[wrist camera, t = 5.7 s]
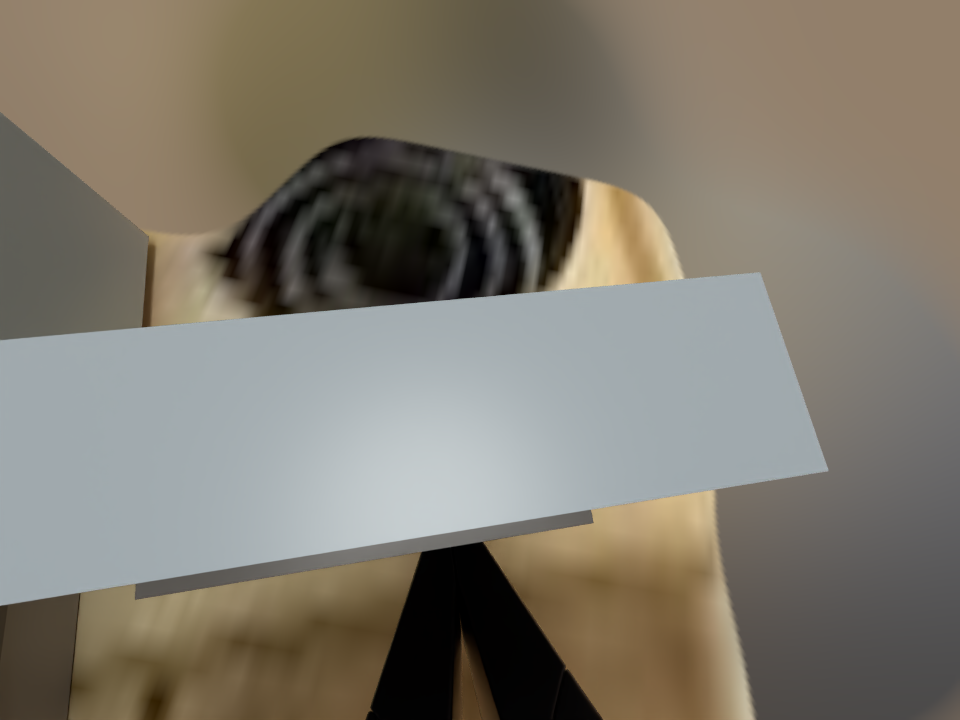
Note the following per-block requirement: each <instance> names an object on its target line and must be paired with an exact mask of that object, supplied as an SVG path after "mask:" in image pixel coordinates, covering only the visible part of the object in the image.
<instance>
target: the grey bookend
mask: <svg viewBox="0 0 960 720" xmlns="http://www.w3.org/2000/svg"><path fill="white" fill-rule="evenodd" d="M148 238H149V236H147V235H146V234H145V233H144V232H143V231H141V230H140V229H139V228H138V227H137V226H136V225H134V224H133V223H132V222H131V221H130V220H128V219H127V218H126V217H124V215H122V214H121V213H120V212H119V211H118V210H116V209H115V208H114V207H113V206H111V205H110V204H109V203H108V202H107V201H106V200H104V199H103V198H102V197H101V196H100V195H99V194H97V193H96V192H95V191H94V190H92V189H91V188H90V187H89V186H88V185H87V184H85V183H84V182H83V181H82V180H81V179H79V178H78V177H77V176H76V175H75V174H73V173H72V172H71V171H70V170H69V169H67V168H66V167H65V166H64V165H63V164H62V163H60V162H59V161H58V160H57V159H56V158H54V157H53V156H52V155H51V154H50V153H48V152H47V151H46V150H45V149H44V148H42V147H41V146H40V145H39V144H38V143H37V142H35V141H34V140H33V139H32V138H30V137H29V136H28V135H27V134H26V133H25V132H23V131H22V130H21V129H20V128H18V127H17V126H16V125H15V124H14V123H12V122H11V121H10V120H9V119H8V118H6V117H5V116H4V115H3V114H2V113H0V606H1V605H8V604H14V603H20V602H26V601H32V600H38V599H44V598H51V597H57V596H63V595H69V594H75V593H81V592H87V591H94V590H100V589H106V588H112V587H118V586H124V585H130V584H136V591H135V600H137V599H143V598H148V597H154V596H160V595H166V594H172V593H178V592H184V591H190V590H196V589H202V588H208V587H214V586H220V585H226V584H232V583H238V582H244V581H250V580H256V579H262V578H268V577H274V576H280V575H286V574H292V573H298V572H304V571H310V570H316V569H322V568H328V567H334V566H340V565H346V564H352V563H358V562H364V561H370V560H376V559H382V558H388V557H394V556H400V555H406V554H411V553H417V552H423V551H429V550H435V549H441V548H447V547H453V546H459V545H465V544H471V543H477V542H483V541H489V540H495V539H501V538H507V537H513V536H519V535H525V534H531V533H537V532H543V531H549V530H555V529H561V528H567V527H573V526H579V525H585V524H591V523H593V518H592V513H591V509H598V508H604V507H610V506H616V505H622V504H628V503H634V502H641V501H647V500H653V499H659V498H665V497H671V496H677V495H684V494H690V493H696V492H702V491H708V490H714V489H720V488H727V487H733V486H739V485H744V484H751V483H757V482H763V481H770V480H775V479H782V478H788V477H794V476H800V475H806V474H812V473H818V472H824V471H828V468H827V465H826V462H825V459H824V456H823V453H822V451H821V448H820V445H819V442H818V439H817V436H816V433H815V430H814V428H813V424H812V422H811V419H810V416H809V413H808V410H807V407H806V404H805V401H804V398H803V395H802V393H801V390H800V387H799V384H798V381H797V378H796V375H795V372H794V369H793V366H792V363H791V361H790V358H789V355H788V352H787V349H786V346H785V343H784V340H783V337H782V334H781V332H780V329H779V326H778V323H777V320H776V317H775V314H774V311H773V308H772V305H771V303H770V300H769V297H768V294H767V291H766V288H765V285H764V282H763V279H762V276H761V273H760V272H759V273H748V274H737V275H725V276H715V277H703V278H692V279H681V280H669V281H658V282H647V283H636V284H625V285H613V286H602V287H591V288H580V289H569V290H557V291H546V292H535V293H524V294H513V295H501V296H490V297H479V298H468V299H457V300H445V301H434V302H423V303H412V304H401V305H389V306H378V307H367V308H356V309H345V310H333V311H322V312H311V313H300V314H288V315H277V316H266V317H255V318H244V319H232V320H221V321H210V322H199V323H188V324H176V325H165V326H154V327H143V328H142V320H143V306H144V293H145V279H146V266H147V252H148Z"/></svg>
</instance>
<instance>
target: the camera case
mask: <svg viewBox="0 0 960 720" xmlns="http://www.w3.org/2000/svg"><path fill="white" fill-rule="evenodd" d="M78 602H79V593H75V594H69V595H63V596H57V597H51V598H44V599H38V600H32V601H26V602H20V603H14V604H8V605H1V606H0V720H67V715H68V704H69V694H70V684H71V674H72V663H73V653H74V643H75V633H76V623H77V612H78Z"/></svg>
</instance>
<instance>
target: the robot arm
mask: <svg viewBox="0 0 960 720" xmlns="http://www.w3.org/2000/svg"><path fill="white" fill-rule="evenodd" d="M460 621H461V624H460ZM461 628H462V635H463V640H464V645H465V649H466V654H467V658H468V662H469V666H470V671H471V675H472V679H473V684H474V688H475V692H476V697H477V701H478V705H479V709H480V714H481V718H482V720H603V719H602V717H601V716H600V714H599V713H598V712H597V710H596V709H595V707H594V706H593V705H592V703H591V702H590V700H589V699H588V697H587V696H586V695H585V693H584V692H583V690H582V689H581V687H580V686H579V684H578V683H577V681H576V680H575V678H574V677H573V675H572V674H571V672H570V671H569V670H568V669H566V670H565V668H566V666H565V664H564V662H563V661H562V659H561V658H560V656H559V655H558V653H557V652H556V650H555V649H554V647H553V646H552V644H551V643H550V641H549V640H548V638H547V637H546V635H545V634H544V632H543V631H542V629H541V628H540V626H539V625H538V623H537V622H536V620H535V619H534V617H533V616H532V614H531V613H530V611H529V610H528V608H527V607H526V605H525V604H524V602H523V601H522V599H521V598H520V596H519V595H518V594H517V592H516V591H515V589H514V588H513V586H512V585H511V583H510V582H509V580H508V579H507V577H506V576H505V574H504V573H503V571H502V570H501V568H500V567H499V565H498V564H497V562H496V561H495V559H494V558H493V556H492V555H491V553H490V552H489V550H488V549H487V547H486V546H485V544H484V543H483V542H477V543H471V544H465V545H459V546H453V547H447V548H441V549H435V550H429V551H423V552H421V555H420V558H419V561H418V564H417V567H416V570H415V573H414V576H413V579H412V582H411V585H410V588H409V591H408V594H407V597H406V600H405V603H404V606H403V609H402V612H401V615H400V618H399V621H398V625H397V628H396V631H395V634H394V637H393V640H392V643H391V646H390V649H389V652H388V655H387V658H386V661H385V664H384V667H383V670H382V673H381V676H380V679H379V682H378V685H377V688H376V691H375V694H374V697H373V700H372V703H371V706H370V708H371V711H369V712H368V714H367V717H366V720H463V718H462V637H461Z"/></svg>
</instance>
